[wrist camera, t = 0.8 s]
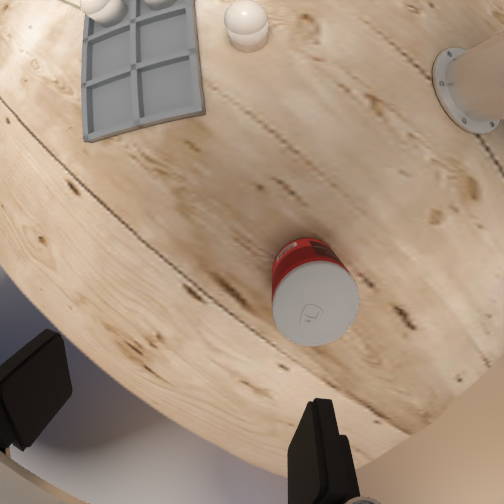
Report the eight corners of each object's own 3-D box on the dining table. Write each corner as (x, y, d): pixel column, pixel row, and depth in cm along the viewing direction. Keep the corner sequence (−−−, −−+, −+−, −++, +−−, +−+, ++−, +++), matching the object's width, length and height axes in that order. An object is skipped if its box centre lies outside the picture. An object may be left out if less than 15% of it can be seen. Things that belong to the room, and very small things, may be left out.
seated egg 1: (128, -2, 27) (106, -26, 20) (128, 21, 28) (103, -2, 21) (100, 9, 28) (75, -11, 21) (99, 32, 29) (71, 13, 22)
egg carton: (192, -27, 27) (188, -35, 25) (205, 114, 32) (201, 110, 30) (92, 7, 28) (86, 1, 26) (92, 142, 33) (83, 141, 31)
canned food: (267, 296, 37) (265, 342, 26) (277, 231, 35) (279, 256, 24) (328, 303, 37) (347, 350, 26) (341, 241, 35) (369, 268, 24)
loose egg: (265, 20, 28) (263, -11, 21) (270, 50, 30) (270, 22, 22) (228, 25, 29) (218, -5, 22) (232, 54, 30) (222, 28, 23)
